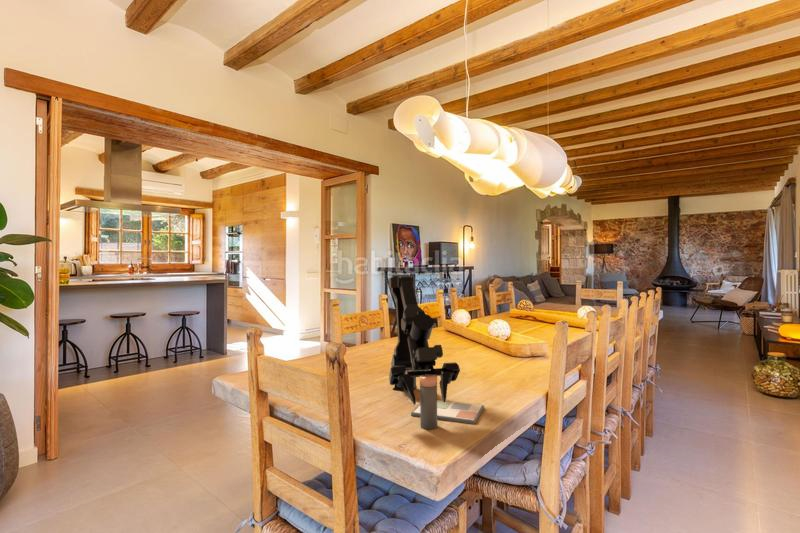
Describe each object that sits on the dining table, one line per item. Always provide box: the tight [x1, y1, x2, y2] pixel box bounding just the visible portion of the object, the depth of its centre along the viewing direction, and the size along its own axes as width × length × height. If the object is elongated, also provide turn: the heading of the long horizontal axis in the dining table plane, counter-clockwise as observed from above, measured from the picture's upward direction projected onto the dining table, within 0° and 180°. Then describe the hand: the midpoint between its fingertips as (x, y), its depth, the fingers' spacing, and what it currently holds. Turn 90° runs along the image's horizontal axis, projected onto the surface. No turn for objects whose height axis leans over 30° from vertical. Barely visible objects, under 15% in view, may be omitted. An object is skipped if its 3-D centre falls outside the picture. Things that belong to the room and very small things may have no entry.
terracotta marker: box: [419, 374, 438, 431], centre depth 108 cm, size 5×5×13 cm
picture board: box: [410, 399, 485, 425], centre depth 118 cm, size 18×13×1 cm
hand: (429, 402), depth 107 cm, fingers open, 8 cm apart
